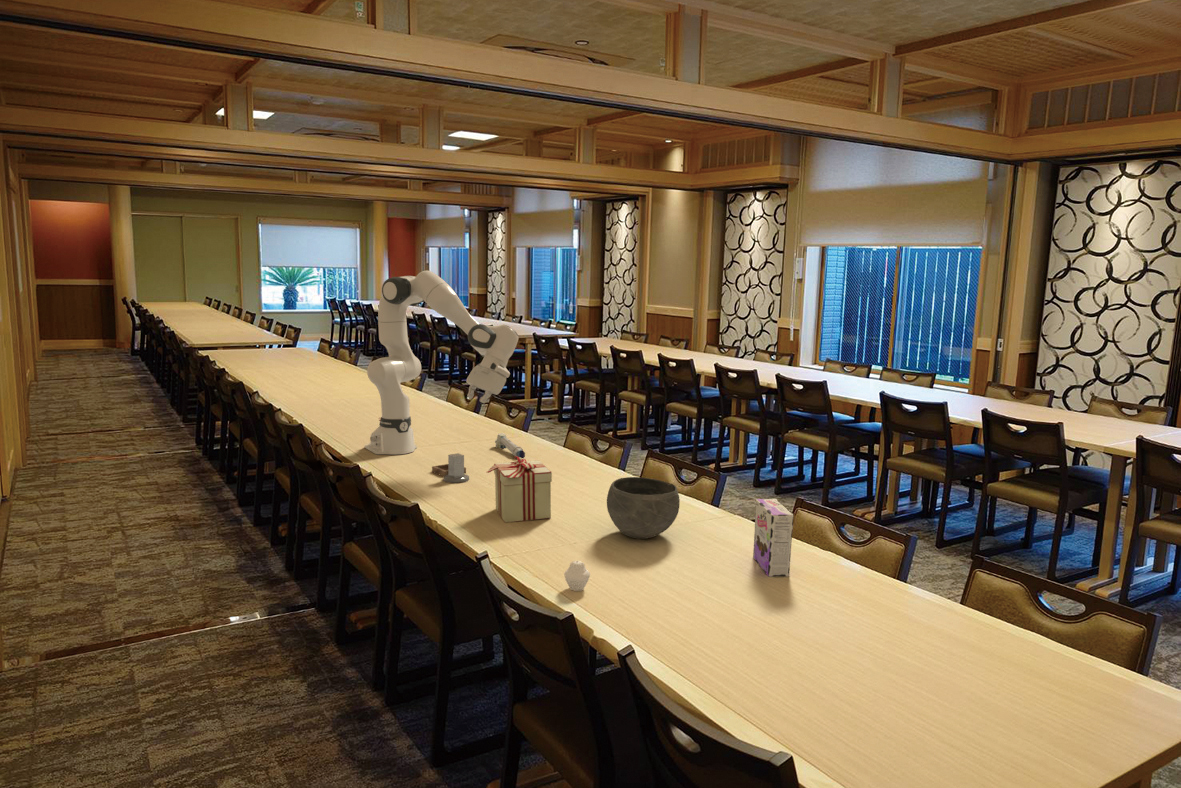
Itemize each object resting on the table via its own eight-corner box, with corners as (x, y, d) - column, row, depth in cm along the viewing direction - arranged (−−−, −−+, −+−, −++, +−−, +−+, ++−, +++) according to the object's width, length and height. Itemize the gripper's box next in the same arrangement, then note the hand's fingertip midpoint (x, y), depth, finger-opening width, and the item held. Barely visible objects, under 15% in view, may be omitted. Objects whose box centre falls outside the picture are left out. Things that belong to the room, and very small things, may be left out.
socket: (432, 471, 296) (432, 466, 296) (453, 468, 302) (453, 463, 301) (444, 476, 289) (444, 471, 289) (466, 473, 295) (466, 467, 295)
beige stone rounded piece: (559, 591, 189) (560, 563, 188) (569, 582, 195) (570, 554, 194) (584, 595, 187) (584, 567, 186) (593, 586, 193) (594, 558, 192)
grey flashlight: (514, 450, 316) (493, 430, 338) (513, 466, 318) (492, 444, 340) (527, 449, 319) (505, 429, 340) (526, 465, 321) (504, 444, 342)
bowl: (657, 553, 216) (659, 499, 214) (591, 537, 227) (592, 486, 225) (690, 532, 234) (692, 482, 231) (627, 519, 245) (629, 471, 242)
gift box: (482, 510, 251) (482, 456, 248) (537, 504, 258) (538, 452, 256) (498, 526, 236) (498, 469, 233) (556, 520, 243) (557, 464, 240)
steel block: (448, 476, 286) (448, 454, 285) (458, 474, 288) (458, 453, 287) (454, 478, 283) (454, 456, 282) (464, 477, 285) (463, 455, 284)
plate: (438, 479, 286) (438, 476, 285) (459, 475, 292) (459, 472, 292) (453, 484, 279) (453, 481, 279) (474, 480, 286) (474, 477, 286)
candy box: (752, 557, 214) (755, 498, 212) (773, 557, 215) (777, 498, 212) (767, 577, 201) (771, 514, 198) (790, 577, 201) (794, 513, 199)
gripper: (472, 358, 304) (455, 391, 302) (500, 367, 288) (482, 401, 286) (485, 366, 308) (468, 398, 306) (512, 374, 292) (495, 408, 290)
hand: (475, 399), depth 296 cm, fingers open, 8 cm apart
